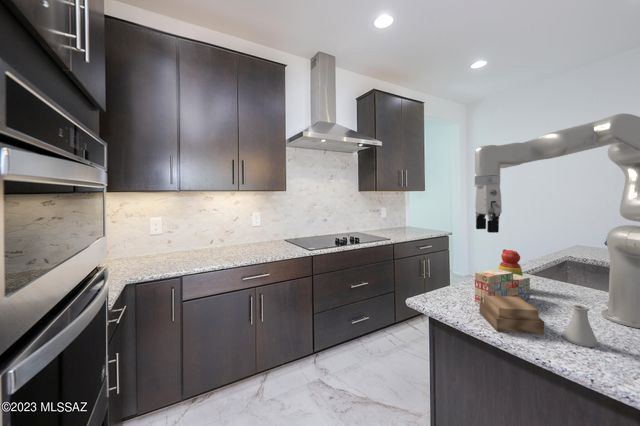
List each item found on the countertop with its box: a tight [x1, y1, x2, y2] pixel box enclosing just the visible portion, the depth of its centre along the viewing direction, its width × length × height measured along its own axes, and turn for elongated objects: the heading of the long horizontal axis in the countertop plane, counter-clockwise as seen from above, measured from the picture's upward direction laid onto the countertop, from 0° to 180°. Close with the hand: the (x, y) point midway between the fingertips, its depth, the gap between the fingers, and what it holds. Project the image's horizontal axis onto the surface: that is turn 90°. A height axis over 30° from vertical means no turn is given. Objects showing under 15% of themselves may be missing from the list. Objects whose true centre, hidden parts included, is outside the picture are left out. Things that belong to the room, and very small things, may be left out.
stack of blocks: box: [474, 268, 531, 304], centre depth 104 cm, size 21×6×12 cm, turn 106°
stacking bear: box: [497, 249, 524, 276], centre depth 117 cm, size 11×10×18 cm
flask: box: [561, 304, 600, 348], centre depth 75 cm, size 7×7×10 cm
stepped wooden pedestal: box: [478, 295, 545, 335], centre depth 86 cm, size 13×13×7 cm
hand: (486, 230), depth 91 cm, fingers open, 9 cm apart
